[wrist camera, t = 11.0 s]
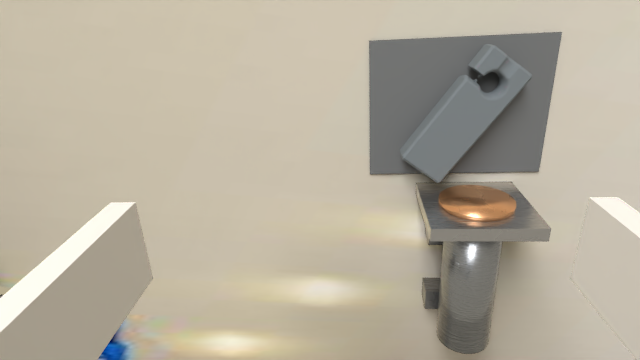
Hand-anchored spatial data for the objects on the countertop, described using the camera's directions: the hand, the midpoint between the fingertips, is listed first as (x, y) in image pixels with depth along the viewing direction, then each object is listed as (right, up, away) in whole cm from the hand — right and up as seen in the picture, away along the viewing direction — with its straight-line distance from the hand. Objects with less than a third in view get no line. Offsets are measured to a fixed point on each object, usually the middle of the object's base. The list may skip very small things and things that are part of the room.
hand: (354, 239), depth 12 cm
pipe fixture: (+12, -5, +26) cm, 29 cm away
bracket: (+6, +6, +23) cm, 25 cm away
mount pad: (+10, +8, +21) cm, 25 cm away
